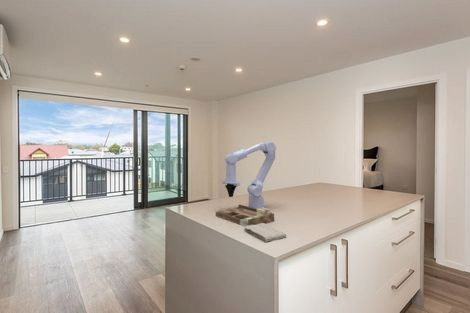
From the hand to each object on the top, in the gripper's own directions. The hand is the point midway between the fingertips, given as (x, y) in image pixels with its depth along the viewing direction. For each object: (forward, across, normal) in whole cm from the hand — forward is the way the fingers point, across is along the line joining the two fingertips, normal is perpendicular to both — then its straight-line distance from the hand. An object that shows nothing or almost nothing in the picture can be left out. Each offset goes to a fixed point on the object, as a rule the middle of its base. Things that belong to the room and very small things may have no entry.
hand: (230, 196), depth 149 cm
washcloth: (+10, +39, -13) cm, 42 cm away
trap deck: (+9, +15, -3) cm, 18 cm away
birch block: (+7, +26, +1) cm, 26 cm away
